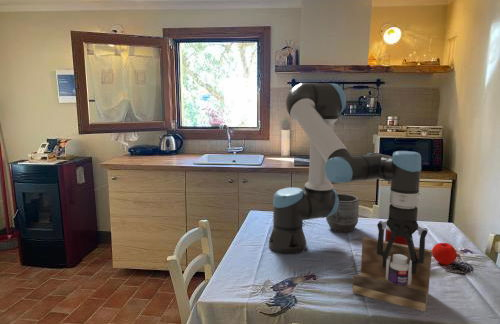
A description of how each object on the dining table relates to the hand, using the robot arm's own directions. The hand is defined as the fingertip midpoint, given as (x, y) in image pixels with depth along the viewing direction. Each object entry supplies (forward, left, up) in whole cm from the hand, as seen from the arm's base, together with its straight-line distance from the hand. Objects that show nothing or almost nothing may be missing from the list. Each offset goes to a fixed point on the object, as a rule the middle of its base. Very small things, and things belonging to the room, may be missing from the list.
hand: (398, 280), depth 105 cm
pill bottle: (0, 0, -2) cm, 2 cm away
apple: (+11, +32, -5) cm, 34 cm away
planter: (-31, +48, -5) cm, 58 cm away
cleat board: (-2, +1, -5) cm, 6 cm away
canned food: (-5, +30, -5) cm, 31 cm away
